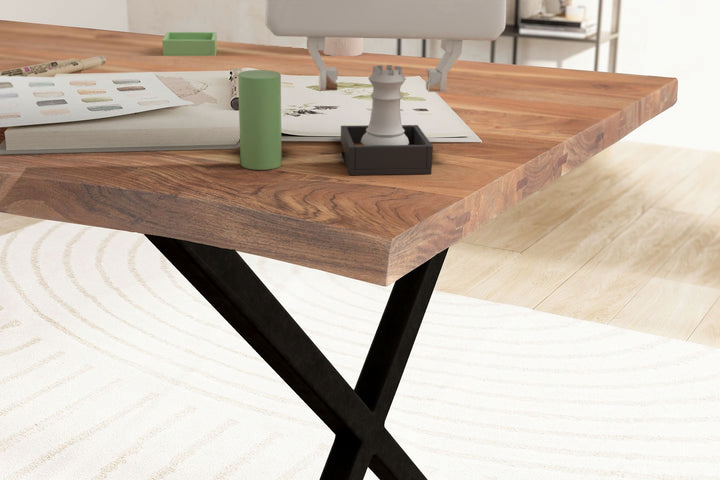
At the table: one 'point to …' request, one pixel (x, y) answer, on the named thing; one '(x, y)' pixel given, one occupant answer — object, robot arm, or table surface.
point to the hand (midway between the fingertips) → (381, 90)
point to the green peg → (260, 119)
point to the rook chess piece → (385, 108)
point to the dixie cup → (343, 46)
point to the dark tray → (386, 153)
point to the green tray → (190, 44)
